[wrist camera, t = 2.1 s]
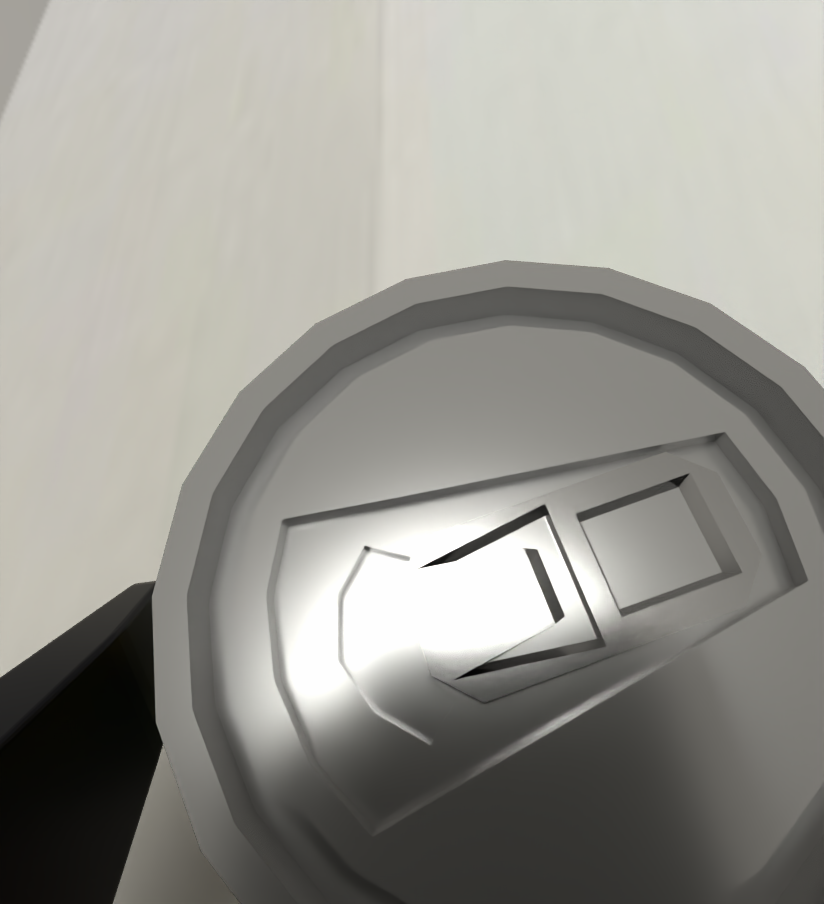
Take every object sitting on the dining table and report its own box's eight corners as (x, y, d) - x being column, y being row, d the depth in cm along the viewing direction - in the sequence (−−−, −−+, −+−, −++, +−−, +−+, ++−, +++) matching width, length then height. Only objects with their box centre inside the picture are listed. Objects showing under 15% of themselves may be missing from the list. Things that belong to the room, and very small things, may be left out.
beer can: (538, 514, 16) (715, 150, 5) (630, 729, 14) (1232, 915, 3) (340, 584, 16) (59, 365, 5) (408, 813, 14) (215, 1328, 3)
